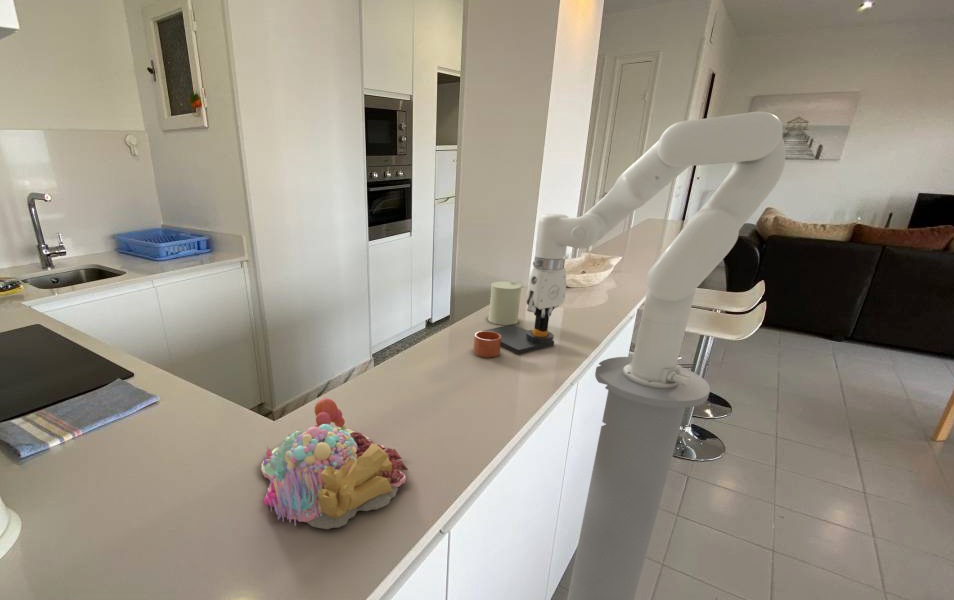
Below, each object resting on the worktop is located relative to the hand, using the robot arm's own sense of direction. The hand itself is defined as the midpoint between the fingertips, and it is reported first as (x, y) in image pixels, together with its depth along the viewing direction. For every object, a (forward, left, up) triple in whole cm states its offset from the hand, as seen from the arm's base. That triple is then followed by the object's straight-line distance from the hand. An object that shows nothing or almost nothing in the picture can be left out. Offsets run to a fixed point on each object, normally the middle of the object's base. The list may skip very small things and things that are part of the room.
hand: (540, 329), depth 131 cm
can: (+20, -5, -4) cm, 21 cm away
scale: (+5, +4, -4) cm, 8 cm away
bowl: (+2, +17, -4) cm, 18 cm away
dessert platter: (-26, +74, -4) cm, 78 cm away
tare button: (0, 0, -2) cm, 2 cm away
